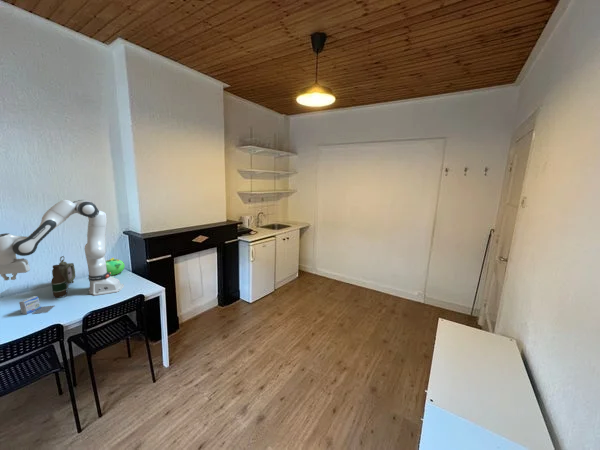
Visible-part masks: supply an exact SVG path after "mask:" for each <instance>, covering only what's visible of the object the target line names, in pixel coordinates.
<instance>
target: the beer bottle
mask: <svg viewBox="0 0 600 450" xmlns="http://www.w3.org/2000/svg"><path fill="white" fill-rule="evenodd" d="M52 270H53V272H54V277H53V276H52V278H51V282H50V283H51V287H52V294H53V297H54V298H55V299H56V298H63V297H65V296H67V294H68V288H67V287H66V284H67V283H66V281H65V278H64V276H62V275H61V273H60V269H59V264H54V265H52Z"/></svg>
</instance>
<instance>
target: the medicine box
mask: <svg viewBox="0 0 600 450" xmlns="http://www.w3.org/2000/svg"><path fill="white" fill-rule="evenodd" d="M18 304H19V306H20V311H21V312H20V313H21V314H23V315H29V314H32V313H33V312H35V311H36V310H38V309H40V308H41V307H42V306H41V303H40V299H39V297H38V296H36V295H35V296H30V297H27V298H25V299H23V300H20V301H18Z"/></svg>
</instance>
